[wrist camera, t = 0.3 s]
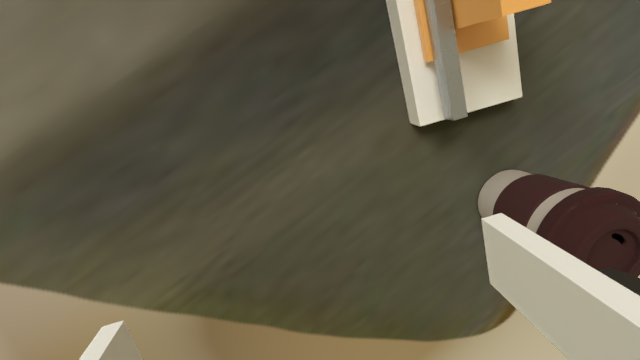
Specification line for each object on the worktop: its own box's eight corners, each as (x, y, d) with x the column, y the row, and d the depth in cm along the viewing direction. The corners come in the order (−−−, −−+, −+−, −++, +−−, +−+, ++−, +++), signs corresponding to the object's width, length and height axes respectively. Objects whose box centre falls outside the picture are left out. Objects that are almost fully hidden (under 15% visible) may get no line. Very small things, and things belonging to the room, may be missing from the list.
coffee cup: (478, 249, 45) (571, 328, 31) (454, 179, 43) (544, 231, 28) (552, 215, 45) (679, 279, 31) (532, 143, 42) (663, 177, 28)
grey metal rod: (394, -130, 30) (402, -145, 28) (425, -138, 30) (435, -153, 28) (438, 120, 36) (447, 122, 34) (463, 112, 36) (474, 114, 34)
